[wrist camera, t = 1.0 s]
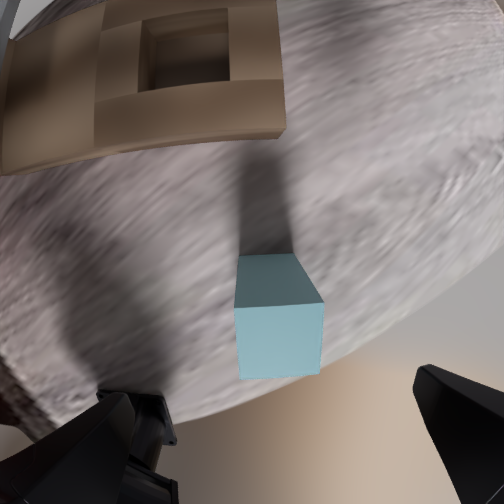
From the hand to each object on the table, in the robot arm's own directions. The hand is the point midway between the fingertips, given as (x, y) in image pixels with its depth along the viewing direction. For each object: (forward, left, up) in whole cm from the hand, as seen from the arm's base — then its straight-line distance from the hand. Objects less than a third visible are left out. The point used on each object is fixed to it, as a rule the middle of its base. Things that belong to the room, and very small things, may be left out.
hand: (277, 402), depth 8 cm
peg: (0, -1, -12) cm, 12 cm away
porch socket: (+14, +8, -12) cm, 20 cm away
